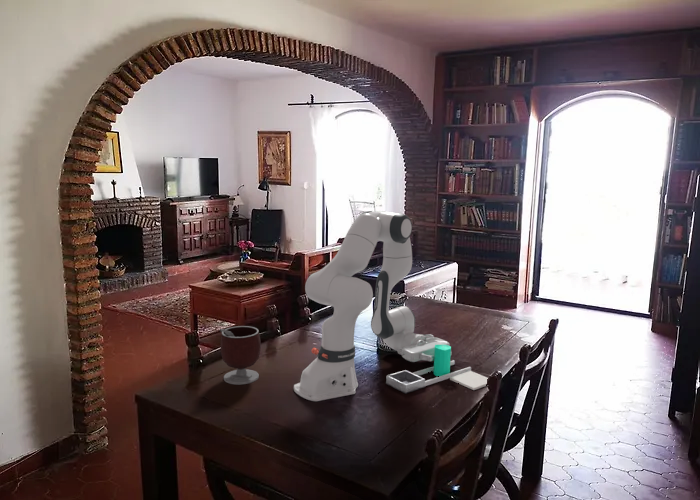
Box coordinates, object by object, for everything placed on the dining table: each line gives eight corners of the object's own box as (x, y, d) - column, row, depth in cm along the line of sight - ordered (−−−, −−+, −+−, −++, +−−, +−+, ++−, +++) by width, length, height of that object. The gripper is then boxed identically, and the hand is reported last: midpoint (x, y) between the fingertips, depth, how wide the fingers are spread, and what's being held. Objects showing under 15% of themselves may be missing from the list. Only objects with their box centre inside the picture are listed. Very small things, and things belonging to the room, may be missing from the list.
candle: (431, 375, 199) (432, 343, 197) (436, 369, 204) (437, 339, 202) (447, 378, 196) (448, 346, 194) (452, 372, 201) (453, 341, 199)
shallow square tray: (405, 393, 183) (405, 385, 182) (386, 383, 191) (386, 375, 190) (424, 387, 188) (425, 379, 188) (405, 377, 196) (405, 370, 195)
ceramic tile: (473, 390, 186) (474, 388, 186) (449, 379, 195) (450, 377, 195) (494, 382, 193) (494, 380, 192) (470, 372, 201) (470, 370, 201)
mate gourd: (244, 367, 204) (242, 315, 201) (269, 376, 196) (268, 323, 192) (209, 379, 193) (207, 325, 189) (234, 390, 184) (233, 333, 181)
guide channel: (424, 386, 189) (424, 382, 189) (407, 378, 196) (407, 374, 195) (470, 371, 203) (471, 367, 203) (453, 363, 210) (453, 360, 210)
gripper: (395, 343, 203) (421, 353, 193) (433, 333, 216) (460, 342, 205) (394, 359, 205) (420, 370, 194) (433, 348, 217) (459, 358, 206)
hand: (441, 356), depth 199 cm, fingers open, 8 cm apart
